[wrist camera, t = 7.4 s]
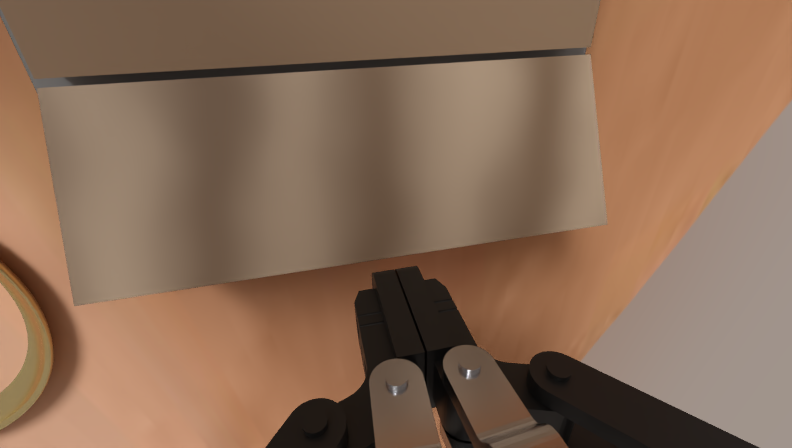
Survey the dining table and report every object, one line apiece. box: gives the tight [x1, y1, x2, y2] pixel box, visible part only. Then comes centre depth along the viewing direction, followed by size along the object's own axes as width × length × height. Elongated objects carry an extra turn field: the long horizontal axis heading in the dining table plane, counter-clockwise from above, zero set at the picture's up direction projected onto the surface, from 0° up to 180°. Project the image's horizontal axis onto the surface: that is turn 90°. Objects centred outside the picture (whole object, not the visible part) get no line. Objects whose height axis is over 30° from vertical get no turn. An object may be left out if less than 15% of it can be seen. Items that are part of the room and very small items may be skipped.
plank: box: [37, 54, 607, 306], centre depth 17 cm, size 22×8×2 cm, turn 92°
